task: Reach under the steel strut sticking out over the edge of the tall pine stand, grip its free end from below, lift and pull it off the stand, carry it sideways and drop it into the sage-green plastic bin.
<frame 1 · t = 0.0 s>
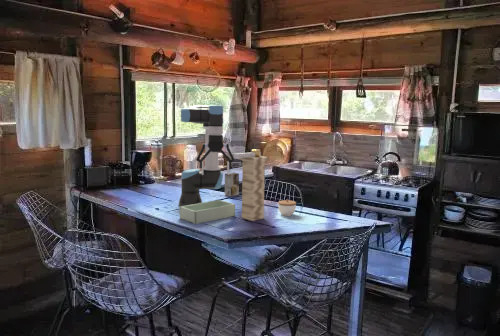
hand: (215, 174, 220), 28 cm above the table, tool pointing down, fingers open, 13 cm apart
bin: (207, 217, 241), on the table
stand: (252, 218, 241), on the table
lidded jar: (286, 214, 250), on the table
strut: (247, 157, 232), point 36 cm above the table, touching stand
coffee box: (231, 195, 304), on the table
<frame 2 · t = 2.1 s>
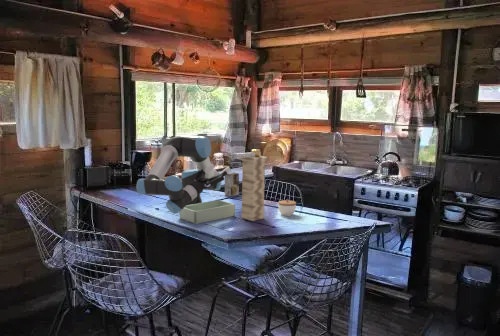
hand: (221, 166, 220), 32 cm above the table, tool pointing upward, fingers open, 13 cm apart
nothing on the table moved.
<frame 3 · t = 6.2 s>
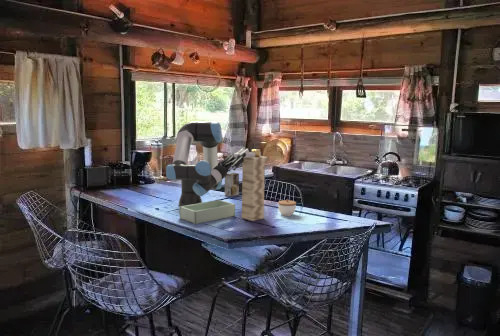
hand: (245, 150, 231), 40 cm above the table, tool pointing upward, fingers closed on strut, 3 cm apart
strut: (247, 157, 232), point 36 cm above the table, touching gripper, stand
everything else where it was.
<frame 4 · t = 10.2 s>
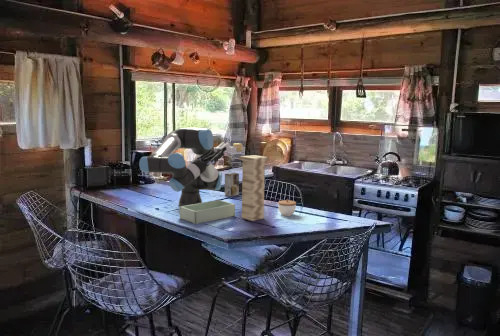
hand: (226, 144, 221), 44 cm above the table, tool pointing upward, fingers closed on strut, 3 cm apart
strut: (228, 151, 222), point 40 cm above the table, touching gripper
everything else where it was.
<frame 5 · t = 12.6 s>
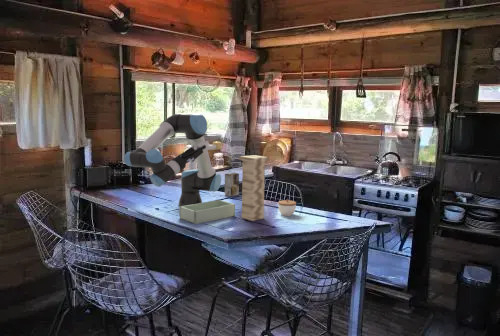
hand: (206, 142, 234), 44 cm above the table, tool pointing upward, fingers closed on strut, 3 cm apart
strut: (208, 149, 235), point 40 cm above the table, touching gripper
everything else where it was.
when the fingers open (35 cm above the table, at t = 14.3 s): strut drops 30 cm, resting on bin.
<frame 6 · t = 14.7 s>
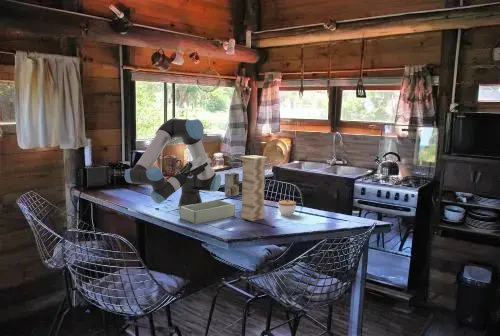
hand: (205, 159, 235), 34 cm above the table, tool pointing upward, fingers open, 9 cm apart
strut: (207, 216, 241), resting on bin
everything else where it was.
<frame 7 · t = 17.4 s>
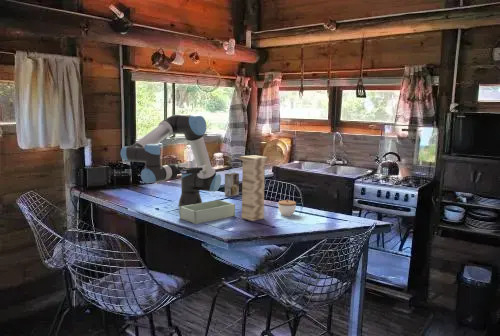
hand: (196, 166, 234), 30 cm above the table, tool horizontal, fingers open, 13 cm apart
nothing on the table moved.
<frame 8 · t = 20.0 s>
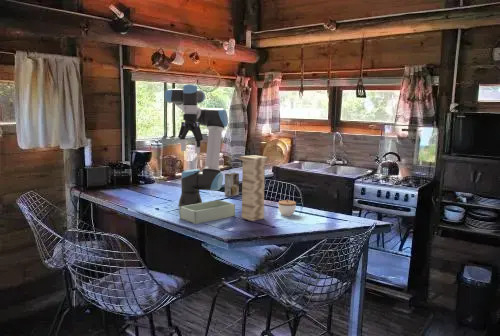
hand: (190, 152, 228), 39 cm above the table, tool pointing down, fingers open, 13 cm apart
nothing on the table moved.
at the end: strut inside the target area on the bin (0.4 cm from its centre), point 0.5 cm above the bin's base; strut touching bin; the gripper is holding nothing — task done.
